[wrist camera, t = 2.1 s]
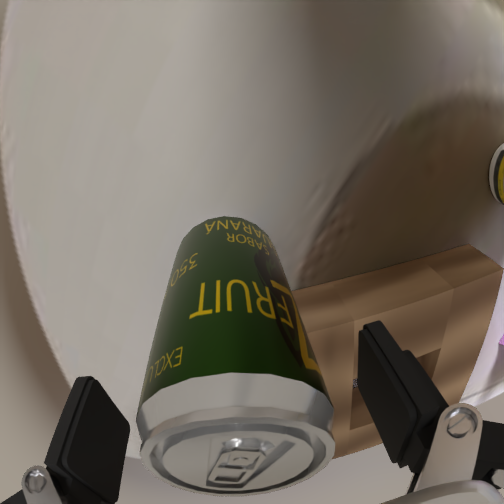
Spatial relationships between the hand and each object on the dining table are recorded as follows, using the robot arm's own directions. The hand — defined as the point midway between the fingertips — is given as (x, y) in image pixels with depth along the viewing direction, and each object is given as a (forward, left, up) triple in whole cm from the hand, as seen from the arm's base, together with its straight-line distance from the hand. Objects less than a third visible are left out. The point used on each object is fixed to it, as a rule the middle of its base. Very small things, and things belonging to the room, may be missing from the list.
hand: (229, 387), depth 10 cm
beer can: (-1, 0, -9) cm, 9 cm away
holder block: (+10, +9, -9) cm, 16 cm away
